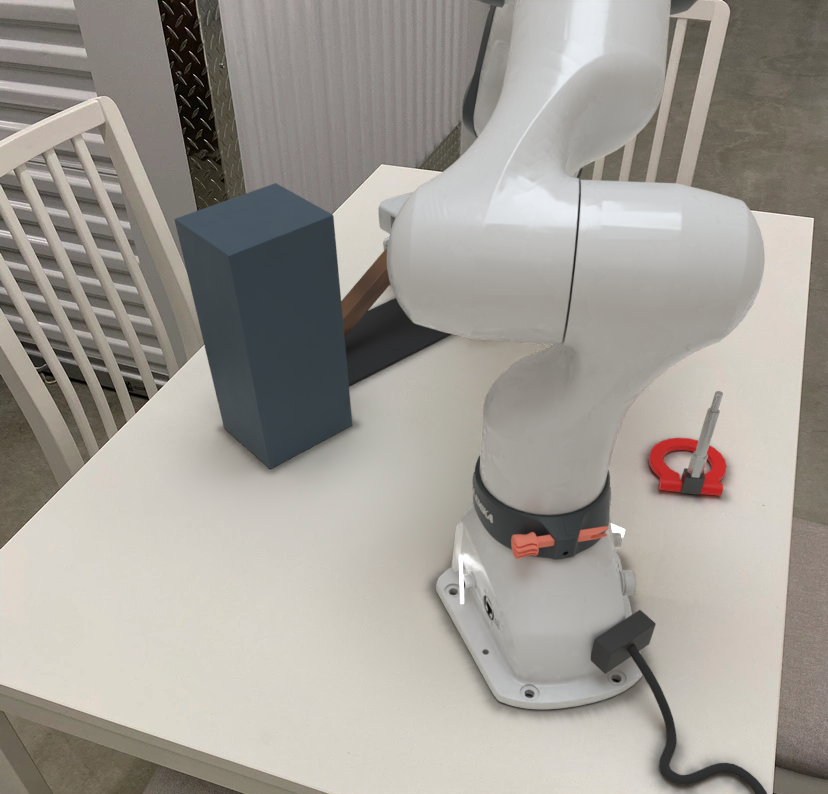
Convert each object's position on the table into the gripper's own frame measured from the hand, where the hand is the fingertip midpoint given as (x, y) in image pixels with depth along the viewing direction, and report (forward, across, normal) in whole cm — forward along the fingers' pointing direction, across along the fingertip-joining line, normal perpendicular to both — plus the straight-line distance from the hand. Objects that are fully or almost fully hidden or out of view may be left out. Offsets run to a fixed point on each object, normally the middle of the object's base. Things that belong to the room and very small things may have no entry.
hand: (396, 253), depth 105 cm
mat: (+5, 0, +11) cm, 12 cm away
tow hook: (-5, +44, +11) cm, 46 cm away
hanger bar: (+4, 0, +4) cm, 5 cm away
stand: (+24, +8, +11) cm, 27 cm away
